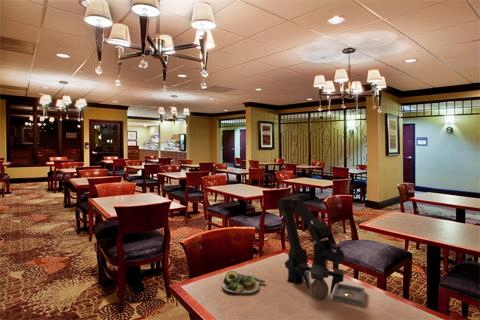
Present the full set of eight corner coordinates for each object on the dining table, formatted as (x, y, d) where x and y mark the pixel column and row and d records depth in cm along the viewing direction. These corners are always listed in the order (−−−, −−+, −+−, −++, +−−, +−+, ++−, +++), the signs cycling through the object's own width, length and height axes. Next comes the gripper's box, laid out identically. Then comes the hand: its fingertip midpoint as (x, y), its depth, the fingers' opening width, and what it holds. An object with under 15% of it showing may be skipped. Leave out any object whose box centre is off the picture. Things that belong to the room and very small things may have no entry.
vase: (329, 302, 115) (329, 281, 115) (311, 300, 117) (312, 280, 116) (327, 293, 122) (327, 273, 122) (311, 292, 123) (311, 272, 123)
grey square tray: (332, 299, 117) (332, 295, 117) (335, 286, 128) (335, 282, 128) (363, 307, 112) (363, 302, 112) (364, 292, 123) (364, 288, 123)
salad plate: (264, 276, 138) (264, 267, 138) (265, 296, 121) (265, 286, 120) (225, 275, 140) (225, 266, 139) (220, 295, 122) (220, 284, 122)
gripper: (293, 258, 115) (293, 295, 116) (341, 267, 107) (341, 306, 108) (299, 249, 125) (299, 283, 126) (344, 256, 117) (344, 292, 118)
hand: (319, 291), depth 119 cm, fingers open, 9 cm apart
